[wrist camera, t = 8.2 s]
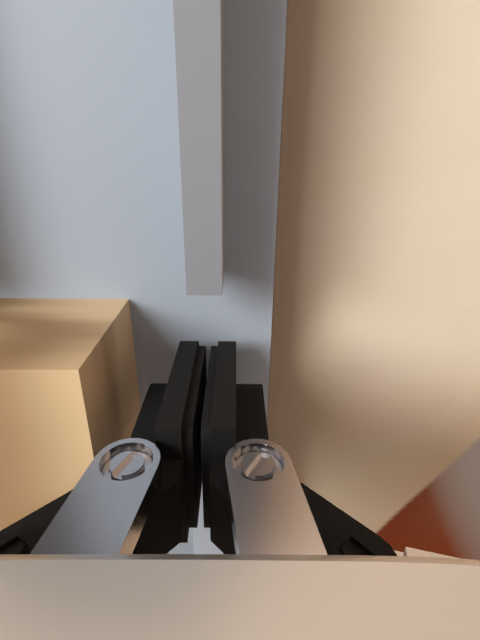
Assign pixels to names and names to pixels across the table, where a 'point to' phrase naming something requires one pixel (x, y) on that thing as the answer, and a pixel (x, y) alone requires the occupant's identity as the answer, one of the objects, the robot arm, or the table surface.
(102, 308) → the block
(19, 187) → the grey sorting tray
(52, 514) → the robot arm
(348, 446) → the table surface
